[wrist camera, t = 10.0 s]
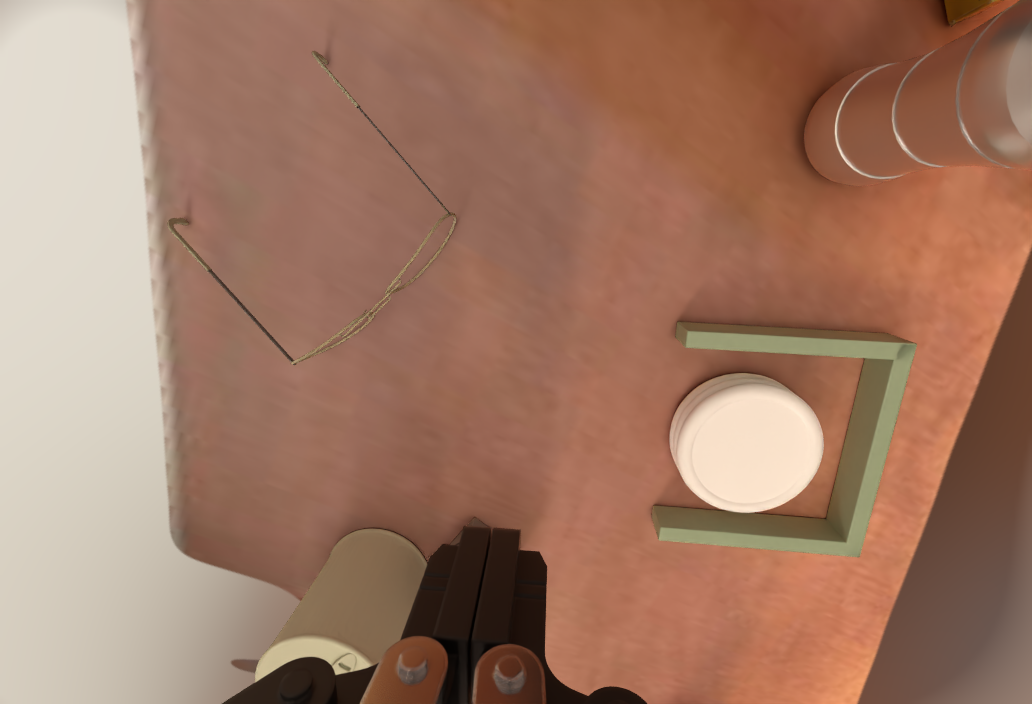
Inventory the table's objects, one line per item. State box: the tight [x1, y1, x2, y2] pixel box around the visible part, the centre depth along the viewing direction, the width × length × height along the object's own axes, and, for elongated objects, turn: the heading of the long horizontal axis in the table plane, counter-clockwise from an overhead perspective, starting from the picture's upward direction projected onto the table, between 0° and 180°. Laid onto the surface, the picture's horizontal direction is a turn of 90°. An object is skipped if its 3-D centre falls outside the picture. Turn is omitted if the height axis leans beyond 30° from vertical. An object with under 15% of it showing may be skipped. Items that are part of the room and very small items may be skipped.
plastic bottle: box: [804, 0, 1032, 187], centre depth 22 cm, size 6×7×20 cm
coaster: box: [669, 373, 824, 513], centre depth 36 cm, size 10×10×4 cm
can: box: [255, 529, 427, 682], centre depth 38 cm, size 9×9×12 cm
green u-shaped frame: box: [652, 322, 917, 557], centre depth 36 cm, size 16×15×3 cm
